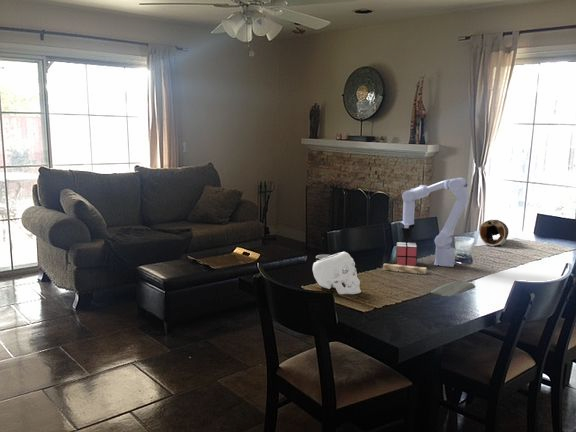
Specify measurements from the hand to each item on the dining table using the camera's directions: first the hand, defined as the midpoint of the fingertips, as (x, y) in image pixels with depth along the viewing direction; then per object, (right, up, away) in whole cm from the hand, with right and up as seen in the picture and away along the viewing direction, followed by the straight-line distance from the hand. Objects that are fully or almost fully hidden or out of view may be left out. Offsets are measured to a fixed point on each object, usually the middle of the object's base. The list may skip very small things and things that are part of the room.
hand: (407, 239), depth 268 cm
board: (-6, -14, -22) cm, 27 cm away
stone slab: (+8, -20, -50) cm, 54 cm away
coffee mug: (-44, -16, -32) cm, 56 cm away
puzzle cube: (-2, -12, -8) cm, 15 cm away
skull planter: (-41, -19, -49) cm, 67 cm away
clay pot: (+62, -4, +41) cm, 75 cm away
